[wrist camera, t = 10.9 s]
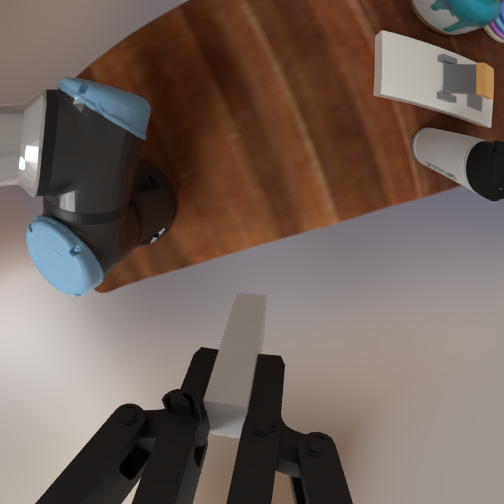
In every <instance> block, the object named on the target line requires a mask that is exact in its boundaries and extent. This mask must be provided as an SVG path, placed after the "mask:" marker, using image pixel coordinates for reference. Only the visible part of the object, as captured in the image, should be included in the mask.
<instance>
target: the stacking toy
mask: <svg viewBox="0 0 504 504" xmlns="http://www.w3.org/2000/svg"><path fill="white" fill-rule="evenodd" d="M483 28H484V30H485V31H486V32H487V34H488V35H489V36H490V37H491V38H493V39H494V40H496V41H498V42H501V43H504V1H502V2H501V11H500V14H499V16H498V18H497V19H496V20H495V21H493V22H492V23H490V24H488V25H486V26H484V27H483Z"/></svg>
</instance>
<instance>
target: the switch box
mask: <svg viewBox="0 0 504 504" xmlns="http://www.w3.org/2000/svg"><path fill="white" fill-rule="evenodd" d="M443 63H446V64H475V65H476V62H474V61H472V60H469V59H467V58H465V57H462V56H460V55H458V54H455V53H453V52H450V51H448V50H445V49H442V48H440V47H437V46H434V45H431V44H428V43H425V42H422V41H419V40H416V39H413V38H409V37H406V36H403V35H399V34H395V33H391V32H387V31H383V30H382V31H381V32H380V33H378V34H377V35H376V36H375V73H374V95H373V96H378V97H383V98H387V99H392V100H396V101H401V102H405V103H409V104H413V105H416V106H420V107H424V108H427V109H431V110H434V111H437V112H441V113H444V114H447V115H450V116H453V117H456V118H459V119H462V120H465V121H467V122H470V123H473V124H476V125H478V126H483V127H489V128H491V122H492V107H493V100H491V99H484V98H483V97H481V96H476V95H468V94H459V93H451V94H449V93H445V92H442V86H443Z"/></svg>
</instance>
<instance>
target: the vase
mask: <svg viewBox="0 0 504 504" xmlns="http://www.w3.org/2000/svg"><path fill="white" fill-rule="evenodd" d="M410 3H411V6H412V9H413V11H414V13H415V14H416V16H417V17H418V18H419V20H420V21H421V22H422V23H423V24H424V25H426V26H427V27H428V28H430V29H432V30H433V31H436V32H438V33H441V34H445V35H457V34H463V33H467V32H470V31H473V30H476V29H479V28H482V27H484V26H486V25H488V24H490V23H492V22H493V21H495V20H496V19H497V18H498V16H499V14H500V11H501V2H500V0H410Z"/></svg>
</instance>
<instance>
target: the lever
mask: <svg viewBox="0 0 504 504" xmlns="http://www.w3.org/2000/svg"><path fill="white" fill-rule="evenodd" d="M442 92H445V93H449V94H451V93H459V94H468V95H476V96H481V97H483V98H484V99H491V100H493V98H494V69H493V68H492V67H490V66H489V65H488V64H486V63H476V65H475V64H446V63H443V86H442Z"/></svg>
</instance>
